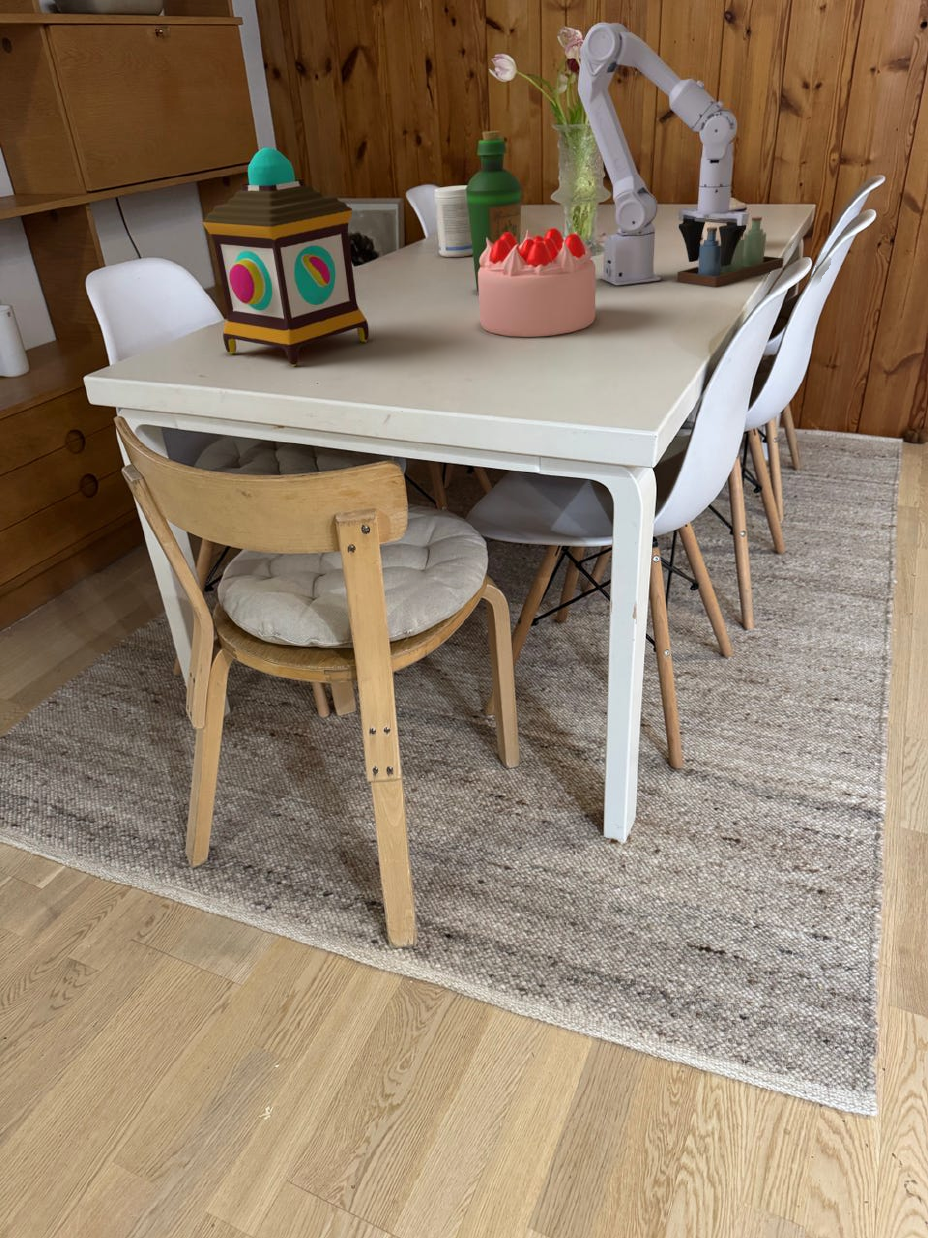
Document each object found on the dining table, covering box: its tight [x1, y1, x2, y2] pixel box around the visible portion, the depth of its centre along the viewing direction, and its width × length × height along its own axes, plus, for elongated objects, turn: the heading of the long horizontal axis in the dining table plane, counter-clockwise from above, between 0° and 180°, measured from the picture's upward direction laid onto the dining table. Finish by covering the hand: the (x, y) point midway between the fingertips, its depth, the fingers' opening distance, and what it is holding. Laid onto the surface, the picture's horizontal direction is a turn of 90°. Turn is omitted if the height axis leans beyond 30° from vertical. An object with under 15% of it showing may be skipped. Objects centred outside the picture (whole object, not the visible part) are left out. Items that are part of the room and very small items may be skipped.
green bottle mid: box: [720, 237, 745, 273], centre depth 176 cm, size 4×4×9 cm
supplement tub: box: [434, 184, 473, 258], centre depth 214 cm, size 10×10×15 cm
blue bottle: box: [697, 227, 721, 276], centre depth 172 cm, size 4×4×9 cm
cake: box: [478, 227, 597, 338], centre depth 151 cm, size 20×20×14 cm
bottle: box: [466, 130, 522, 293], centre depth 172 cm, size 11×11×28 cm
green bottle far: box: [742, 215, 767, 267], centre depth 180 cm, size 4×4×9 cm
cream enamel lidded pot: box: [702, 192, 748, 244], centre depth 199 cm, size 12×9×12 cm
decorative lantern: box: [202, 146, 370, 367], centre depth 144 cm, size 20×20×30 cm
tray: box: [676, 255, 785, 288], centre depth 178 cm, size 21×9×2 cm, turn 129°
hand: (709, 263), depth 173 cm, fingers open, 7 cm apart
